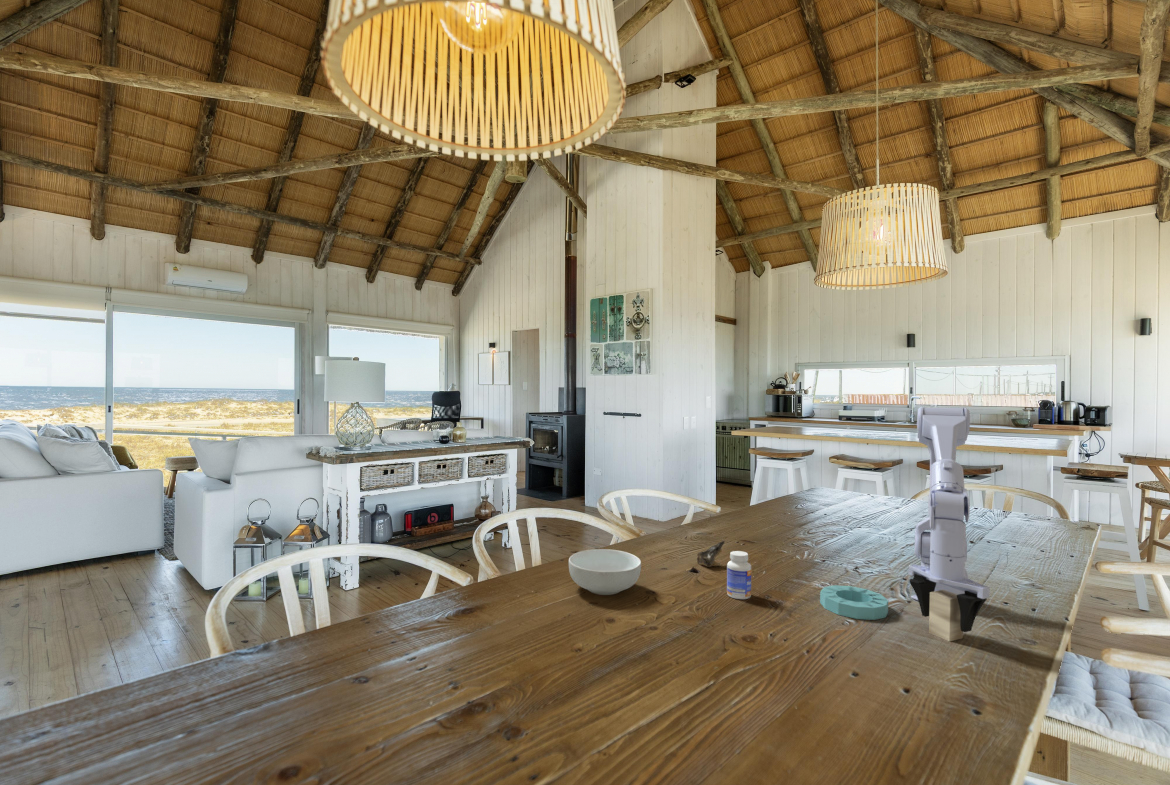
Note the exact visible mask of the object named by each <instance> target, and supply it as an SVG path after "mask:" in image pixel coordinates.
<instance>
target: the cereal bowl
mask: <svg viewBox="0 0 1170 785" xmlns="http://www.w3.org/2000/svg"><path fill="white" fill-rule="evenodd" d="M641 569H642V561H641V559H640V558H639V556H636V555H634V554H632V553H629V552H627V551H623V550H618V549H617V550H616V549H609V548H607V549H606V548H605V549H604V548H601V549H600V548H598V549H586V550H580V551H578V552H576V553H573V554H572V555H570V556H569V558H568V571H569V574H570V575H569V576H570V577H571V579H572V581H573V582H574V583H575V584H577V585H578V586H579V587H581V588H583V589H585V590H587V591H589V592H591V593H592V594H595V595H601V596H611V595H616V594H618V593H620V592H623V591H625V590H628V589H630V588H632V587H633V586H634V585H635V584H636V582H638V580H639V577H640V574H641Z"/></svg>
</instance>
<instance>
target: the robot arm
mask: <svg viewBox="0 0 1170 785" xmlns="http://www.w3.org/2000/svg"><path fill="white" fill-rule="evenodd" d="M916 414H917V418H916V419H917V421H916V429H917V430H916V431H917V439H918V443H920V444H923V445H925V446H927V449H928V452H929V494H928V500H927V501H928V502H927V504H928V507H927V510H928V511H927V512H928V517H926V518H924V519H923V520H921V521H919V522H918V523H916V525H915V532H914V556H915V557H916V558H917V559H919V560H920V564H919V565H918V564H910V565H908V575H909V576H911V577H912V578H910V579H909V584H910V586H911V587H912V589H913V592H914V593H915V594H914V595H911V599H913V600H916V601H918V604H919V608H920V611H921V612H920V613H921V616H922V617H924V618H925V617H926V618H927V617H929V608H930V592H934V591H939V590H945V591H948V592H951V593H954V594H957V599H958V603H959V608H960V628H961V631H963V633H968V632H972V629H973V626H974V623H975V620H976V617H977V615H978V613H979V611H980V610H981V609H982V607H983V605H984V604H985V603H986V601H987V600H988V598H990V590H991V588H990V586H987V585H984V584H981V583H978V581H974V580H972V579H971V578H969V574H968V571H967V569H966V563H967V559H968V543H967V542H968V541H967V532H966V530H967V529H966V527H967V523H969V519H970V513H971V512H970V511H971V510H970V509H971V508H970V507H971V506H970V505H971V504H970V499H969V494H968V491H967V488H965V477H964V468H963V466H962V465H961V464H960V463H958V462H957V460H956V458H957V447H960V446H963V445H965V444H966V441H967V440H968V436H969V433H970V429H971V413H970V410H969V408H968V407H941V406H940V407H933V406H930V407H928V406H923V405H921V406H920V407H919V408H917V413H916ZM964 518H965V521H964Z"/></svg>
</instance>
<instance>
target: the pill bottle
mask: <svg viewBox="0 0 1170 785" xmlns="http://www.w3.org/2000/svg"><path fill="white" fill-rule="evenodd" d="M729 554H730V555H729V559H730V560H729V561H728V562H727V564H726V593H727V596H728V597H730V598H733V599H736V600H748V599H750V598H751V597H752V564H751V563H750V562H748V561H749V554H748V552H746V551H743V550H742V551H741V550H732V551H730V553H729Z"/></svg>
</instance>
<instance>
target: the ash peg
mask: <svg viewBox="0 0 1170 785" xmlns="http://www.w3.org/2000/svg"><path fill="white" fill-rule="evenodd" d="M928 617H929V620H928V633H929V634H930V635H933V636H935V637H937V638H939V639H943V640H945V641H948V642H952V641H957V640H961V639H963V638H964V632H963V631H961V628H960V608H959V603H958V599H957V594H954V593H951V592H948V591H945V590H939V591H934V592H930V608H929V616H928Z"/></svg>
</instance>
